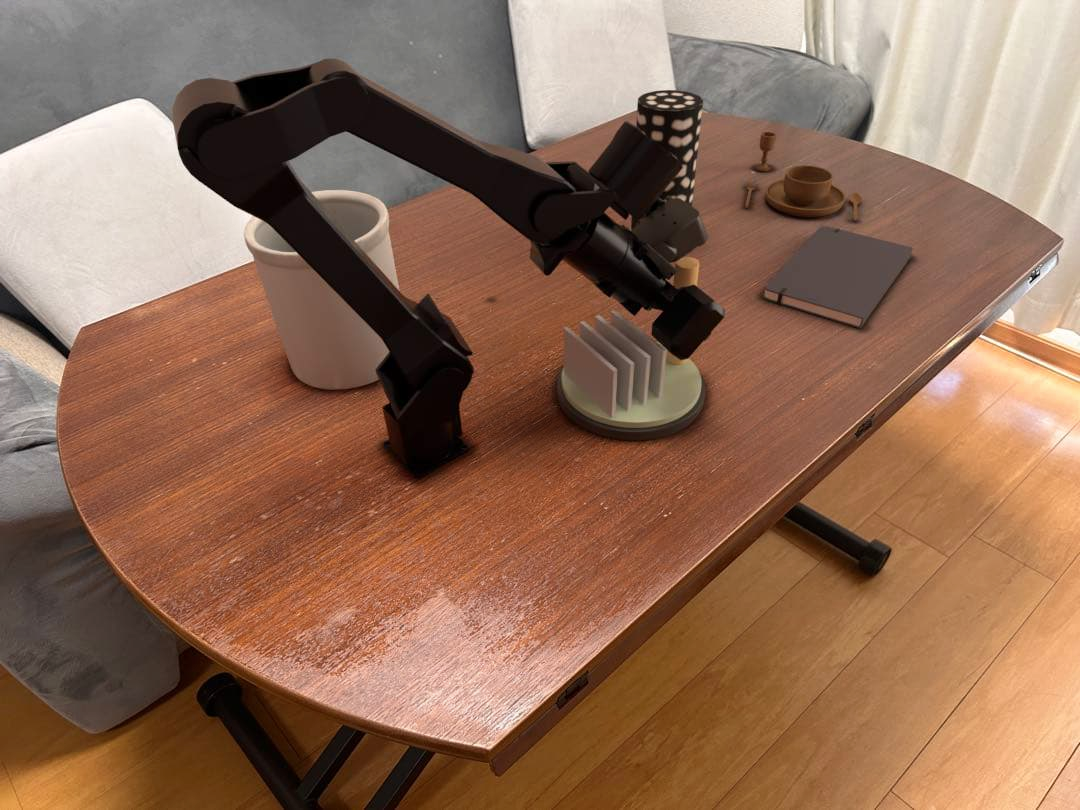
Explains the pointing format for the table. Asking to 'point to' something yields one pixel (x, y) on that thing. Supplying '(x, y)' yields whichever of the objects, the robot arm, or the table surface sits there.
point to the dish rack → (629, 370)
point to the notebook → (838, 275)
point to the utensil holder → (324, 296)
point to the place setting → (801, 188)
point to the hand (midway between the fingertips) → (691, 322)
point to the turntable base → (629, 433)
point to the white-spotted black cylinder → (673, 134)
